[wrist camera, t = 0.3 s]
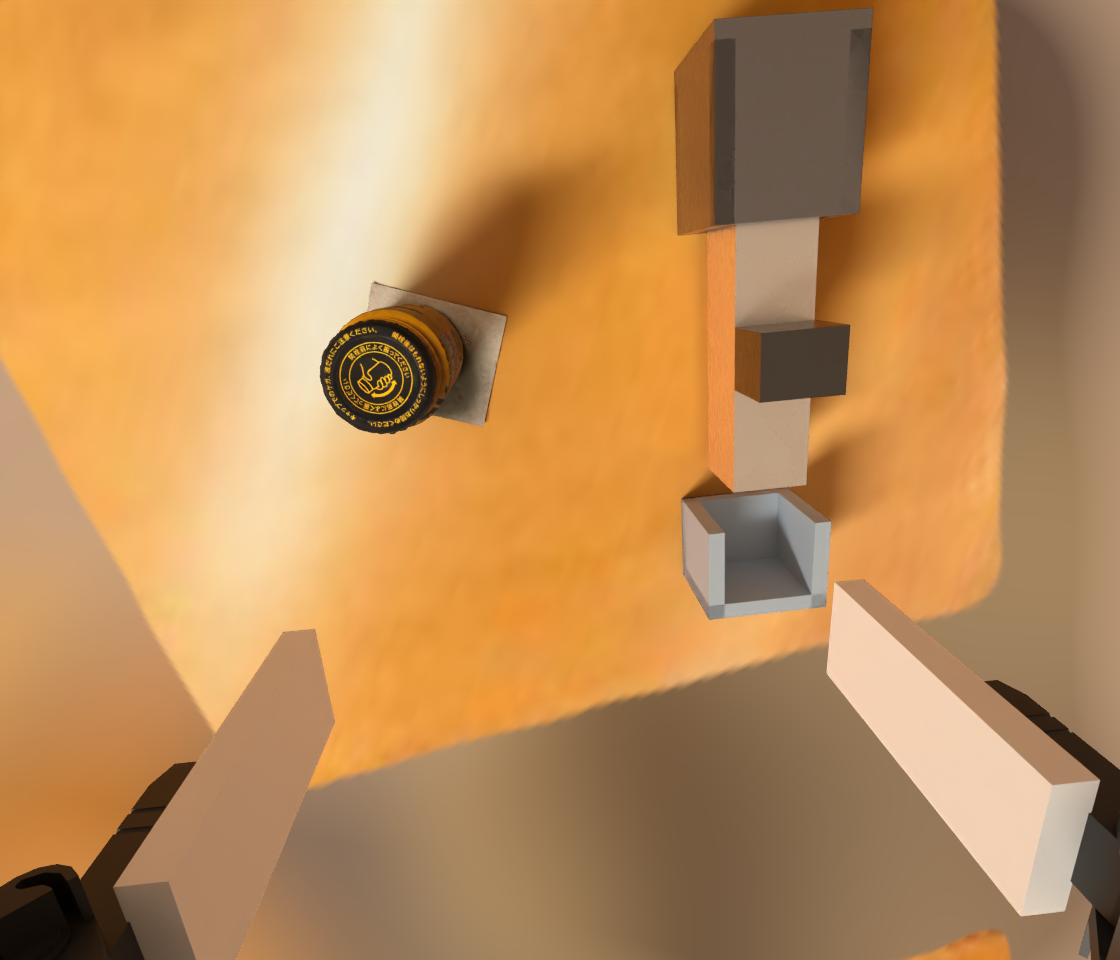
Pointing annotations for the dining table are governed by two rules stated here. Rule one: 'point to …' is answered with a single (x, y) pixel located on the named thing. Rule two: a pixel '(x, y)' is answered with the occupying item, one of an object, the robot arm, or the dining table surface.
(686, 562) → the socket
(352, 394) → the yellow drink bottle
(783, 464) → the light gray bar
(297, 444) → the dining table surface
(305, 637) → the robot arm
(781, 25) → the sleeve
